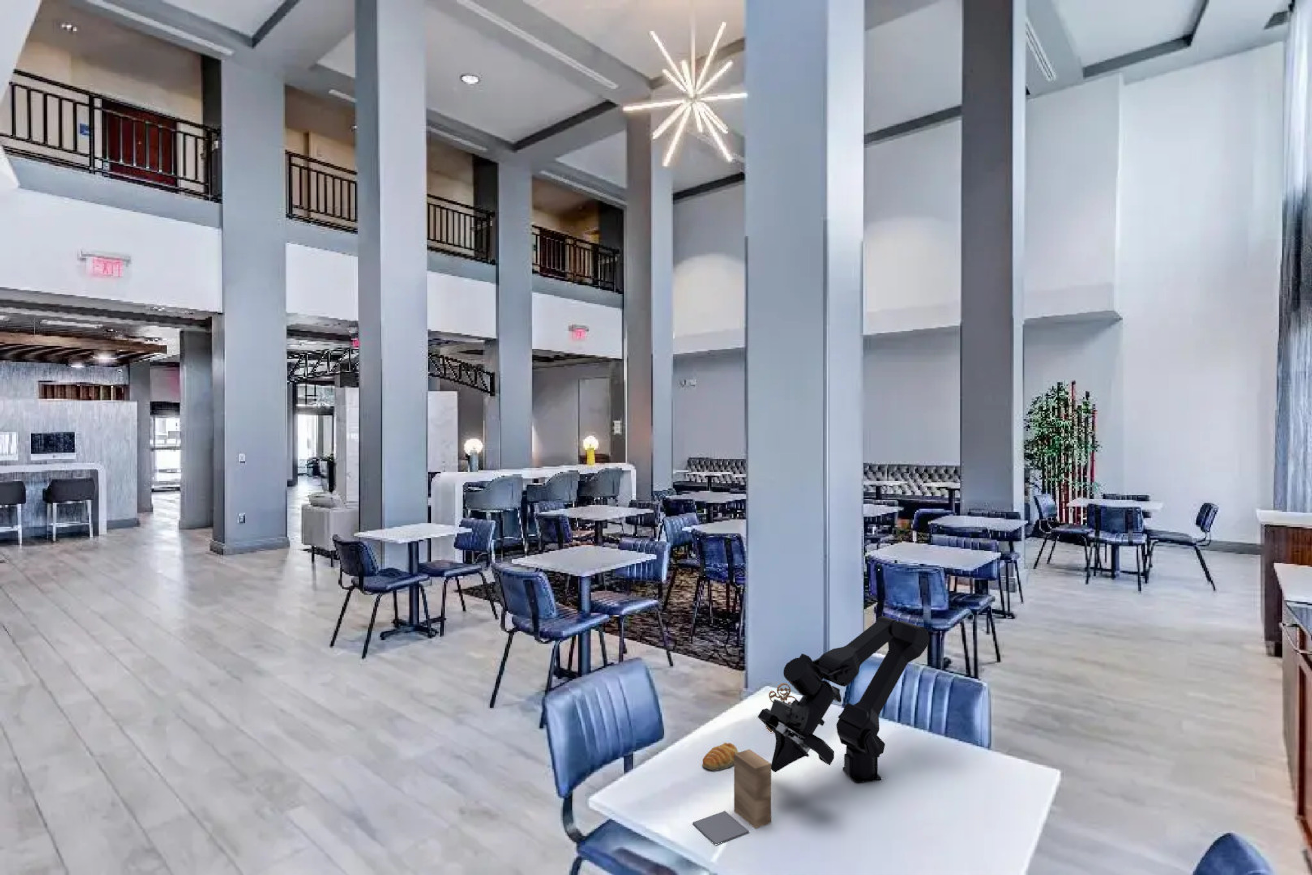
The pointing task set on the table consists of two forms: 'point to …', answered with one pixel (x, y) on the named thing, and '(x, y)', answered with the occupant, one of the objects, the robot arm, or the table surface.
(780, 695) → the gingerbread man figurine
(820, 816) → the table surface
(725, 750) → the pastry
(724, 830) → the mat
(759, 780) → the block
